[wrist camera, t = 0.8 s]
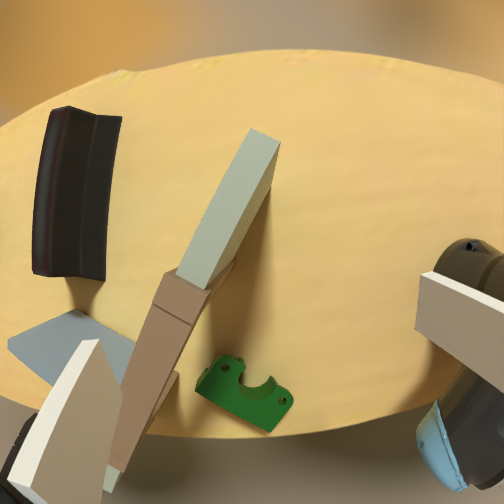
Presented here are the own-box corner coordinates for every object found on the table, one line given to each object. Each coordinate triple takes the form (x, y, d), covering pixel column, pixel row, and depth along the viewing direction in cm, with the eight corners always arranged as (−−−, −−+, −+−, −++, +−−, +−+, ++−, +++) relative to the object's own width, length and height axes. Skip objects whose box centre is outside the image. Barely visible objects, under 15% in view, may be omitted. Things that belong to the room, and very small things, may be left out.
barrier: (107, 281, 36) (65, 296, 26) (63, 274, 36) (19, 284, 26) (124, 116, 34) (89, 89, 24) (78, 122, 34) (40, 102, 24)
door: (154, 352, 36) (104, 410, 21) (149, 368, 36) (102, 429, 21) (75, 308, 36) (7, 339, 21) (72, 325, 36) (8, 359, 21)
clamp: (272, 371, 41) (306, 400, 32) (250, 400, 40) (279, 434, 31) (210, 338, 36) (236, 370, 28) (185, 372, 35) (205, 411, 26)
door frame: (273, 187, 34) (288, 139, 15) (157, 416, 37) (111, 500, 18) (253, 177, 34) (244, 119, 15) (142, 407, 37) (89, 487, 18)
